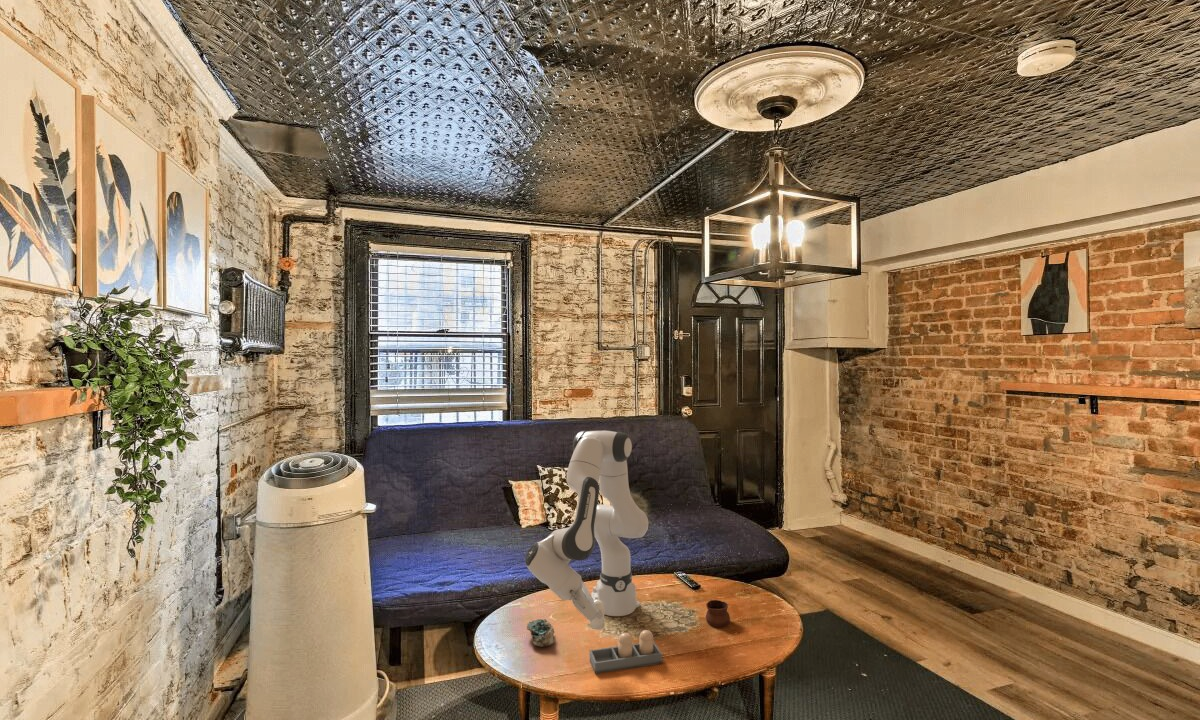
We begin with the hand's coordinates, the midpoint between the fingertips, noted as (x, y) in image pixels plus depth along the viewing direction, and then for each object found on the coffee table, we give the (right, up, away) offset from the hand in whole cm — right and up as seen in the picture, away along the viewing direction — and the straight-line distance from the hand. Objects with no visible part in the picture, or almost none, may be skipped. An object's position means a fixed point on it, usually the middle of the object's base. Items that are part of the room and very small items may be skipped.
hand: (599, 611), depth 172 cm
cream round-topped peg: (-1, -4, 0) cm, 4 cm away
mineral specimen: (-19, -17, +15) cm, 30 cm away
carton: (+8, -17, +2) cm, 19 cm away
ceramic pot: (+43, -17, +27) cm, 53 cm away
